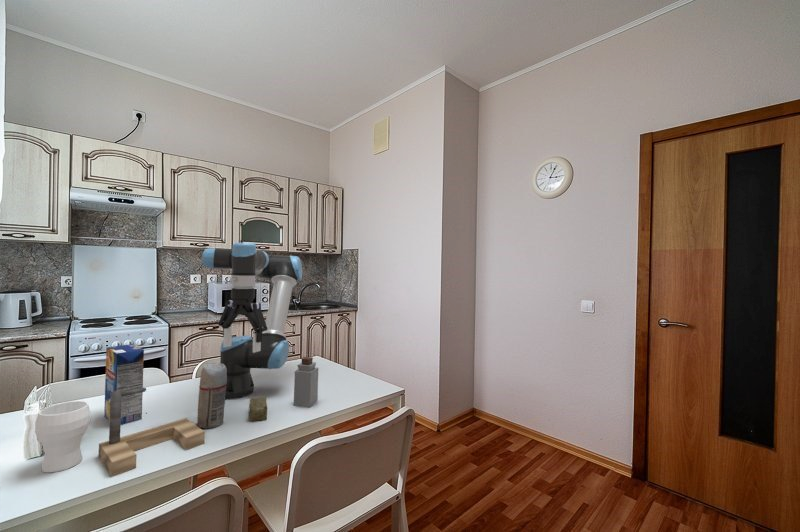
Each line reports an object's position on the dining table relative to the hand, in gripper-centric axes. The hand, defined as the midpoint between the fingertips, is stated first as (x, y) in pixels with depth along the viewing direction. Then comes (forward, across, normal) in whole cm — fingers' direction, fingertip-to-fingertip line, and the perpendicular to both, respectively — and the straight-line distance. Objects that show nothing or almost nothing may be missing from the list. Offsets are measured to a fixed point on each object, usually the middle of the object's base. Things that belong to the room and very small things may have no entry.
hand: (241, 349), depth 120 cm
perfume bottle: (+26, +10, +23) cm, 36 cm away
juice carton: (+25, -37, -16) cm, 48 cm away
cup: (+25, -20, -39) cm, 51 cm away
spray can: (+25, -7, -6) cm, 27 cm away
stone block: (+26, +2, +7) cm, 26 cm away
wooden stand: (+25, -7, -24) cm, 35 cm away
